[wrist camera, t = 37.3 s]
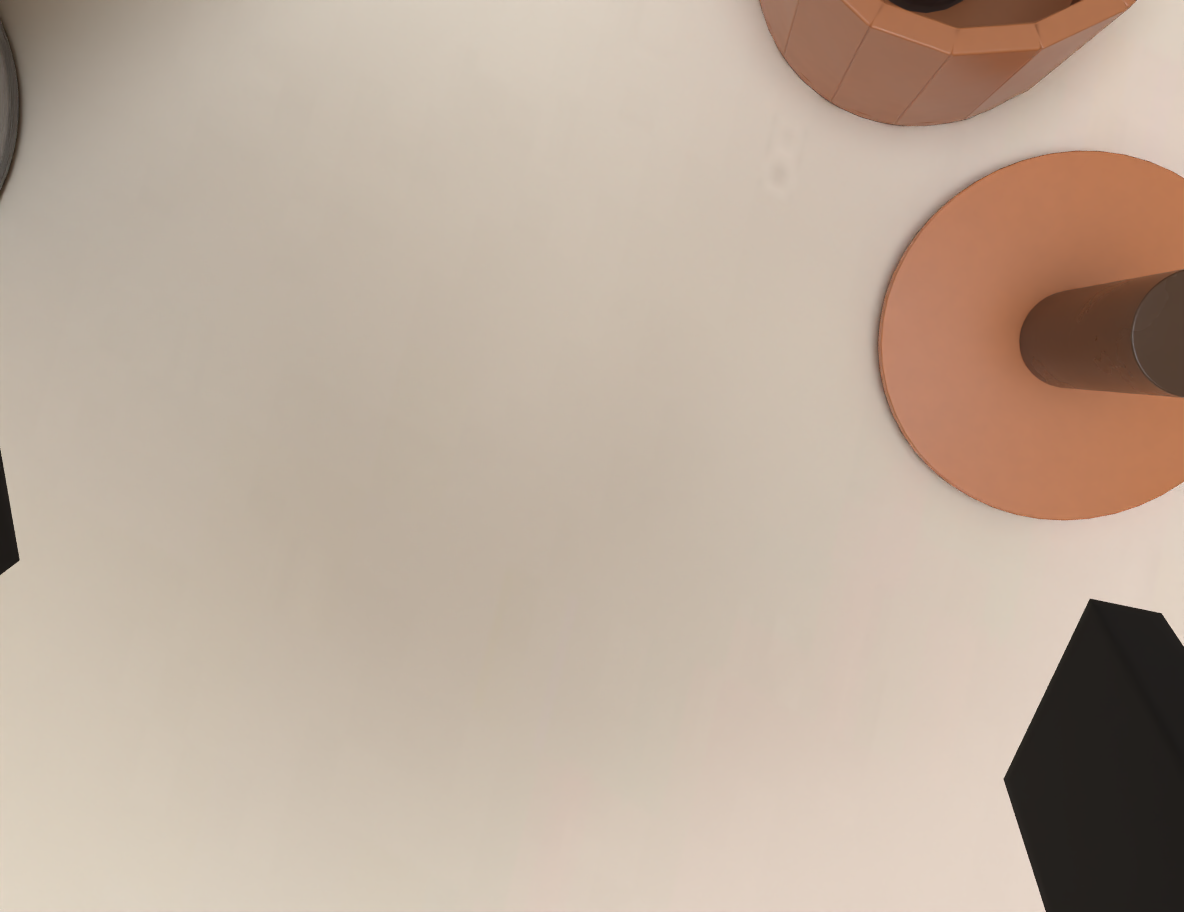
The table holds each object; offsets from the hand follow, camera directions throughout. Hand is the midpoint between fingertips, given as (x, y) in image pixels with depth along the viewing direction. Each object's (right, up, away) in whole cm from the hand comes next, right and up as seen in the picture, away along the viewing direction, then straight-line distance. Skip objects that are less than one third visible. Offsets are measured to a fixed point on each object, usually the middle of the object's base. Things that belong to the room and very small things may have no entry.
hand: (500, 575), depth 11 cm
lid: (+19, +6, +23) cm, 31 cm away
